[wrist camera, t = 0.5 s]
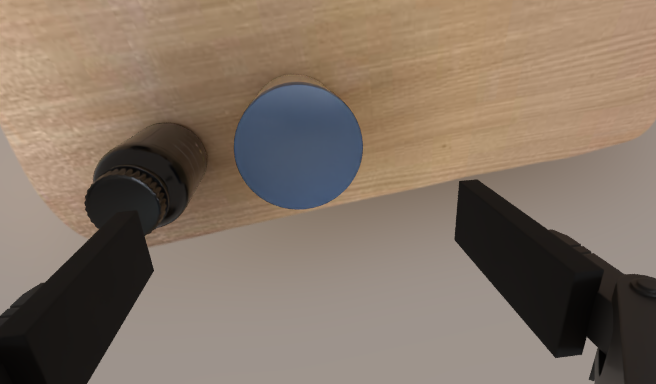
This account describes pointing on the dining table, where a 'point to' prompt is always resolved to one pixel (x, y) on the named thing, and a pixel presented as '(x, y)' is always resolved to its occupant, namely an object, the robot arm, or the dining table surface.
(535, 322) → the robot arm
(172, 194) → the supplement bottle
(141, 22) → the dining table surface
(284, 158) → the jar lid
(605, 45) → the dining table surface
